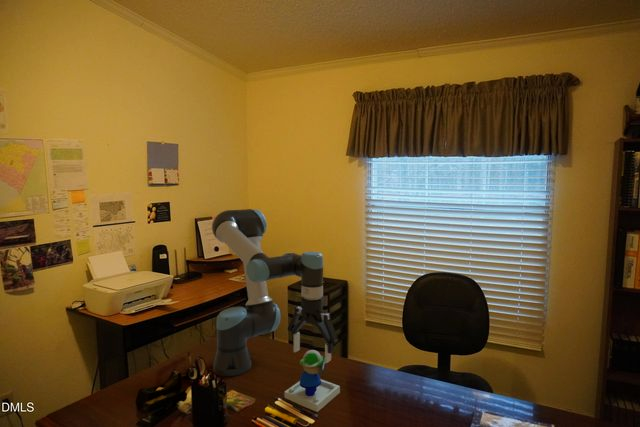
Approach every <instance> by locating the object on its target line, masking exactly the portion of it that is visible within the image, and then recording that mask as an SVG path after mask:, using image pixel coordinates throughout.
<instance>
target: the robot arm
mask: <svg viewBox="0 0 640 427" xmlns="http://www.w3.org/2000/svg"><path fill="white" fill-rule="evenodd" d="M267 223H268V222H267V219H266V217H265V215H264V213H263V212H262V211H261V210H260V209H257V208H255V209H253V208H248V209H227V210H224V211H221V212H220V213H218V214H217V215H216V216H215V217H214V219H213V221H212V224H211V230H212V234H213V236H214V237H215V238H216V239H217V241H219V242H220V243H224V244H225V245H226V246H227V247H228V249H230V250H231V251H232V252H233V253H234V254H235V256H237V257H238V259H240V260H241V261H242V265H243V271H244V272H243V273H244V278H245V283H246V284H245V285H246V286H245V287H246V292H247V293H246V294H247V299H248V300H247V301H246V303H245V304H244V305H245V307H244V306H232V307H228V308H226V309H224V310H221V311H220V312H219V314H217V317H216V324H215V327H216V353H215V358H214V360H213V362H212V370H213V372H214V374H216V375H218V376H221V377H234V376H235V377H236V376H239V375H242V374H244V373H247V372H248V371H249V370H250V369H252V368H251V367H252V357H251V356H250V352H249V350H248V347H247V346H248V345H247V343H248V342H247V340H248V339H251V338H254V337H258V336H261V335H266V334H270V333H271V332H274V331H276V330H277V329H278V327H279V325H280V323H281V311H280V307H279V305H278V304H276V303H275V302H273V298H271V296H269V291H268V285H267V281H270V280H274V279H281V278H287V277H292V276H295V277H296V276H297V277H299V278H300V279H301V281H300V282H301V291H300V292H301V295H300V296H301V299H300V300H301V302H300V304H301V305H299V306H296V307H294V311H293V315H292V317H291V319H290V321H289V325H288V327H287V331H290V332H291V339H292V340H291V341H292V342H293V353H296V352H299V351H300V349H301V347H300V346H301V333H300V329H301V328H302V327H303V326H304V325H305V323H306V324H311V325H313V326H315V327H316V328H317V329H318V330H319V332H320V333H321V335H322V337H323V339H324V340H325V342H326V343H325V344H324V355H325V363H326V364H327V363H329V362H330V361H332V353H333V352H334V344H336V343H337V342H339V338H338V336H337V333H336V329H335V327H334V325H333V321H332V319H331V313H330V312H327V313H323V307H324V304H323V303H324V298H323V296H324V266H325V265H324V256H323V253H321V252H318V251H305V252H302V254H298V253H295V252H286V253H284V254H283V255H280V256H273V257H272V256H271V257H270V256H268V255H267V254H266V253H265V252H263V251H262V243H261V242H262V240H263V239H264V234H265V233H266V232H267V227H268V224H267ZM301 314H302V317H301V319H299V318H300V316H301ZM298 320H299V322H298ZM297 322H298V323H297Z"/></svg>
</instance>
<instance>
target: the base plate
mask: <svg viewBox="0 0 640 427" xmlns="http://www.w3.org/2000/svg"><path fill="white" fill-rule="evenodd" d="M320 380H321V385H320V386H318V387H317V390H316V391H315V395H313V396H306V394H305V388H303V387H301V386H300V380H299V381H297V382H296V383H295V384H293V385H292V386H291V387H289V388H288V389H286V390H285V391H284V399H286V400H288V401H290V402H293V403H296V404H297V405H299V406H301V407H304V408H306V409H309V410H312V411H314V412H317V413H318V412H319V411H321V410H322V409H323V408H324V407H325V406H326V405H327V404H329V403H330V402H331V401H332V400H333V399H334V398H336V396H338V395H339V394H340V393H341V386H340V385H338V384H335V383H333V382H329V381H327V380H324V379H323V378H320Z"/></svg>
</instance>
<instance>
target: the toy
mask: <svg viewBox="0 0 640 427" xmlns="http://www.w3.org/2000/svg"><path fill="white" fill-rule="evenodd" d="M299 364H300V366H302V367H303V370H304V371H303V372H302V373H301V376H300V380H299V381H300V386H301V387H303V388H305V394H306V396H313V395H315V391H316V390H317V387H318V386H320V385H321V380H320V379H323V376H324V375H325V372H326V366H327V363H325V354H324V355H322V354H320V352H319V351H317V350H315V349H310V350H307V351H306V352H305V353H304V354H303V358H301V359H300V360H299ZM319 372H321V377H320V375H319Z"/></svg>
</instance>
